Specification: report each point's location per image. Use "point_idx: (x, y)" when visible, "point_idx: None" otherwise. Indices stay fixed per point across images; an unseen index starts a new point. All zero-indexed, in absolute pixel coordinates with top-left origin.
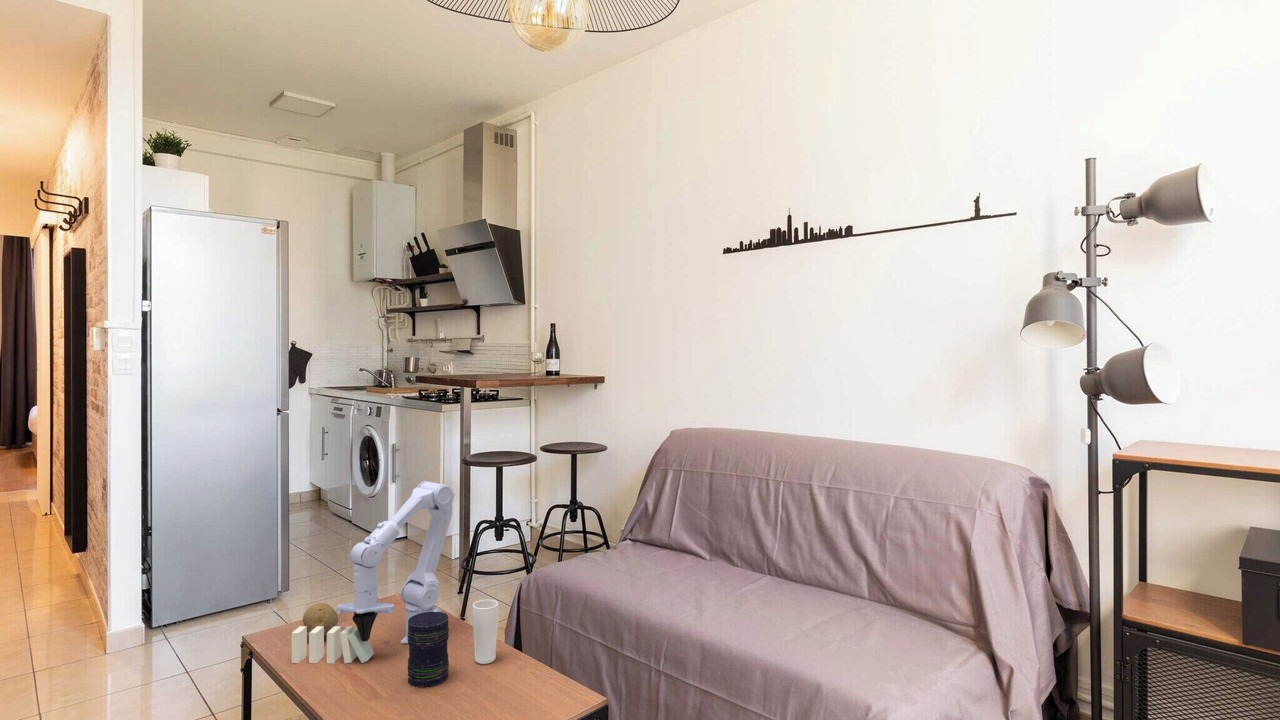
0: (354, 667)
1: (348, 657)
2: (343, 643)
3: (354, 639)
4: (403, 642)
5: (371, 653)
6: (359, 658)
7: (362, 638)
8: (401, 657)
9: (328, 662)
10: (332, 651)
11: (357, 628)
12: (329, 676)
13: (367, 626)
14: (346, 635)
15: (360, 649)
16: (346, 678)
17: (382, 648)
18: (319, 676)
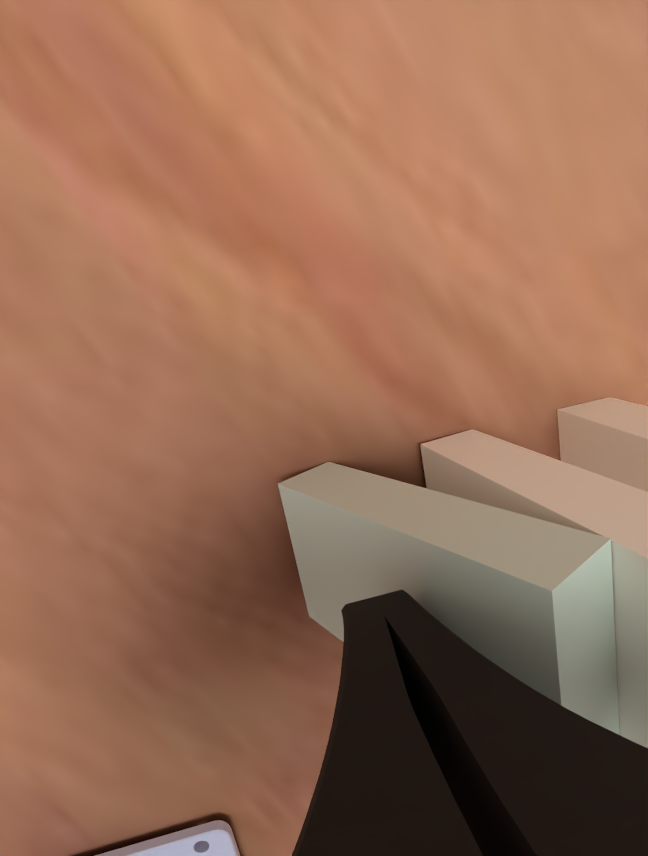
0: (347, 383)
1: (460, 450)
2: (595, 487)
3: (485, 544)
4: (200, 831)
5: (309, 582)
6: (357, 470)
7: (398, 608)
8: (58, 638)
9: (602, 401)
10: (644, 431)
11: None
12: (465, 175)
13: (342, 784)
14: (638, 544)
15: (367, 506)
16: (287, 163)
17: (323, 719)
18: (551, 159)
